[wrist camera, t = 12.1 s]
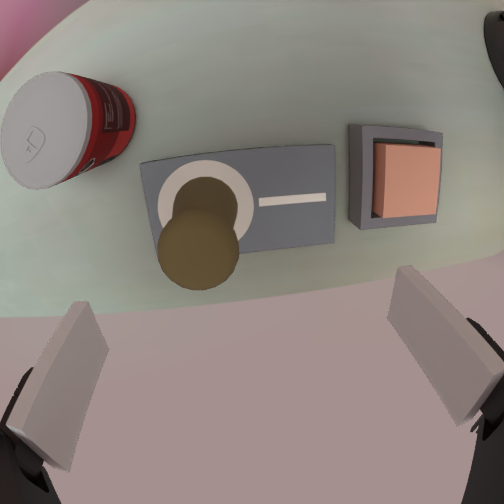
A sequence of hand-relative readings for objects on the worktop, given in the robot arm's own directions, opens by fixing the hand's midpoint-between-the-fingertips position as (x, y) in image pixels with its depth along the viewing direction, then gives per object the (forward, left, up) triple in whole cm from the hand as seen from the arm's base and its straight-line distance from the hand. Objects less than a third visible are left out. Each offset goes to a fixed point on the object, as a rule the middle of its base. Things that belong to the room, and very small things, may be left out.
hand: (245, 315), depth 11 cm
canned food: (+12, -9, -18) cm, 24 cm away
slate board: (-1, 0, -18) cm, 18 cm away
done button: (-17, -2, -16) cm, 24 cm away
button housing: (-17, -2, -18) cm, 25 cm away
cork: (+2, 0, -17) cm, 17 cm away
